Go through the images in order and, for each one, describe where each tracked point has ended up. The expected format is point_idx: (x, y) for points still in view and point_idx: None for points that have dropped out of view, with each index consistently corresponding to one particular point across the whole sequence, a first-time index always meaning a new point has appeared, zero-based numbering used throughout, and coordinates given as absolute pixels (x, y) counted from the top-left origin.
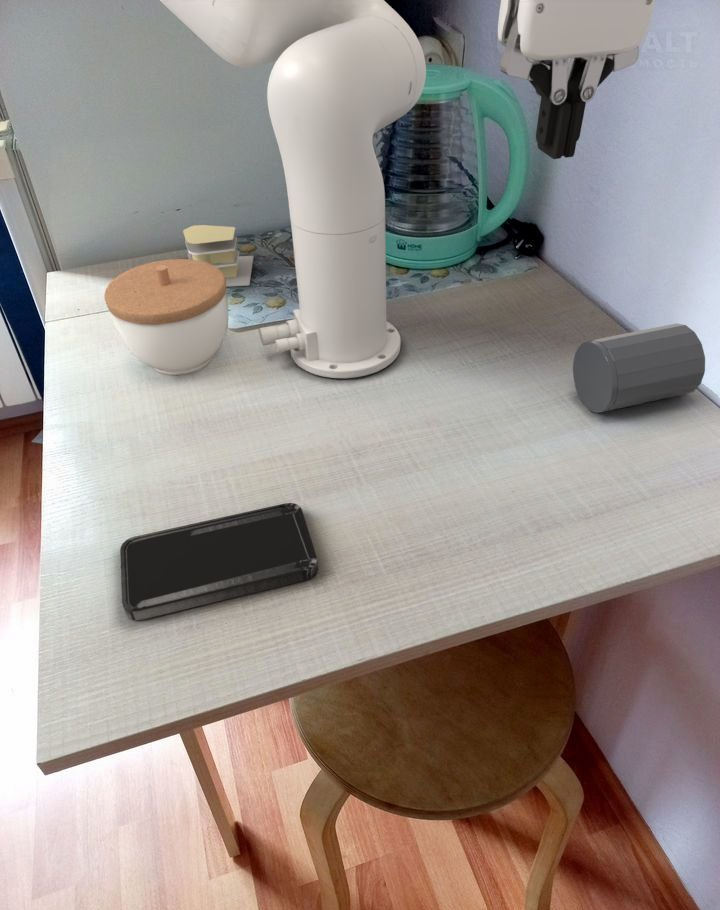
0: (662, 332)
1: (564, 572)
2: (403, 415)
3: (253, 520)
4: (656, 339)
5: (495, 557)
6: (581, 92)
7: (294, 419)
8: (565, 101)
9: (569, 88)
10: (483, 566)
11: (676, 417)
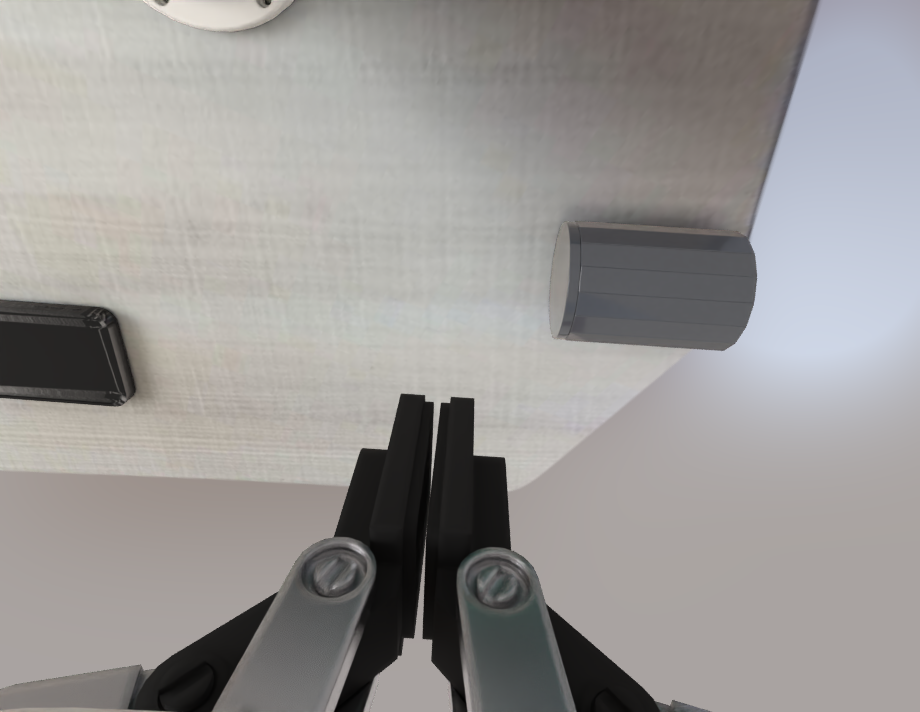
0: (697, 307)
1: None
2: (278, 174)
3: (51, 323)
4: (670, 321)
5: (316, 434)
6: (448, 691)
7: (99, 113)
8: (401, 628)
9: (438, 636)
10: (301, 438)
11: None
